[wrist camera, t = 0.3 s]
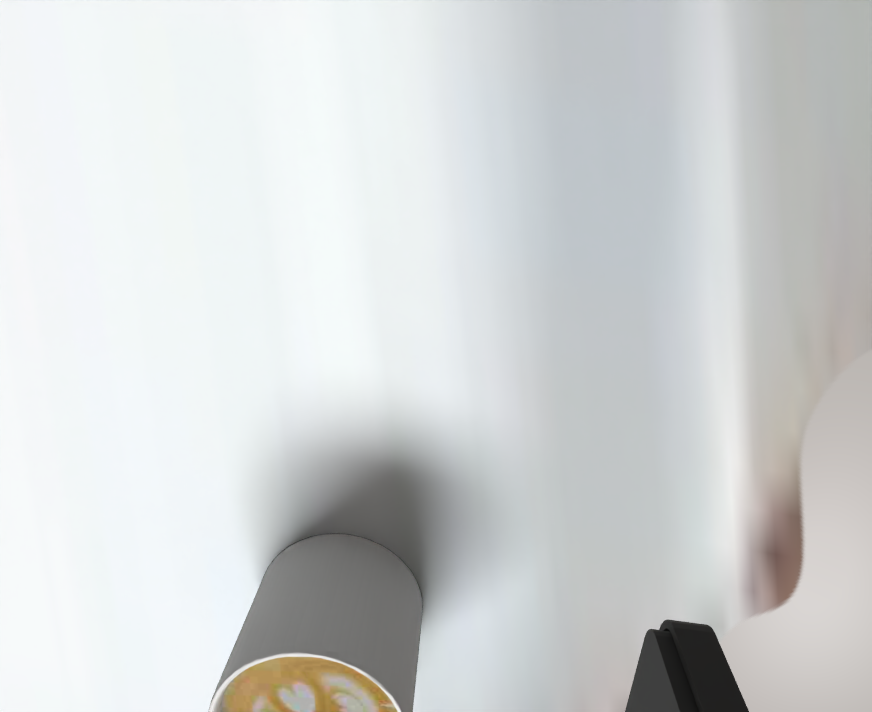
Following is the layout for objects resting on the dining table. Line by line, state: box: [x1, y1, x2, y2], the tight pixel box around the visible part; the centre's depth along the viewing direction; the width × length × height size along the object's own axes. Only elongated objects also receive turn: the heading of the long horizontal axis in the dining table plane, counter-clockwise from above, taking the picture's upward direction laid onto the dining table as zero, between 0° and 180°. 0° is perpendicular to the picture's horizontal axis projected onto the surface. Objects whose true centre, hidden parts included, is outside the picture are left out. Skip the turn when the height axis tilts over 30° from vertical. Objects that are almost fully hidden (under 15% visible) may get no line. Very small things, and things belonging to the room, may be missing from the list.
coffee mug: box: [209, 534, 423, 712], centre depth 43 cm, size 13×10×10 cm
